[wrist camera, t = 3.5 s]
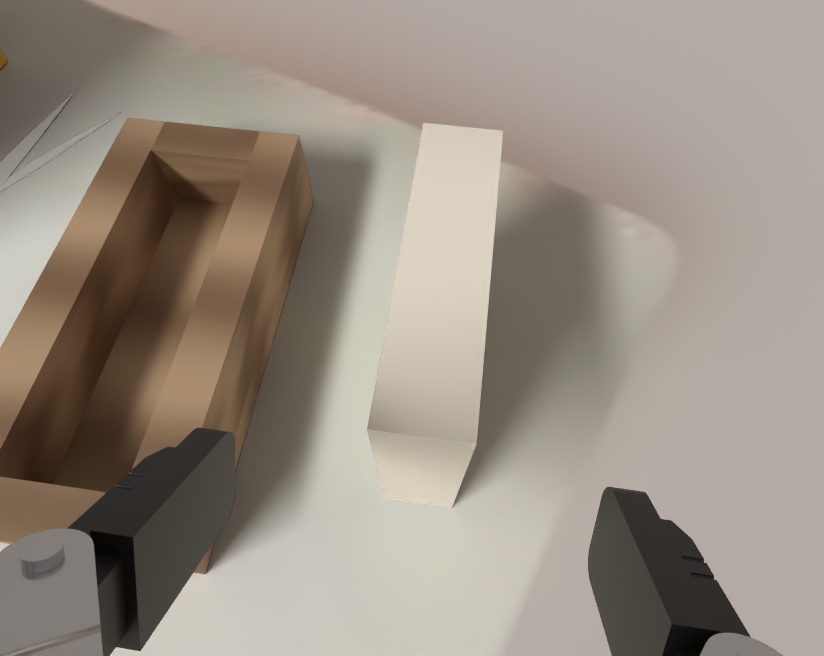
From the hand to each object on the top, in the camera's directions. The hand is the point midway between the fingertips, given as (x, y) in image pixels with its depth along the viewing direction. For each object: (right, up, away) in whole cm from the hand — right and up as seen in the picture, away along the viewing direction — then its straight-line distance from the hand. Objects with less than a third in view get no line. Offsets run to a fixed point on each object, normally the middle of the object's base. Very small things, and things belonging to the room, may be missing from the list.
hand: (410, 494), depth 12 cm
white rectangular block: (+1, +1, +15) cm, 15 cm away
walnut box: (-11, +3, +15) cm, 19 cm away
